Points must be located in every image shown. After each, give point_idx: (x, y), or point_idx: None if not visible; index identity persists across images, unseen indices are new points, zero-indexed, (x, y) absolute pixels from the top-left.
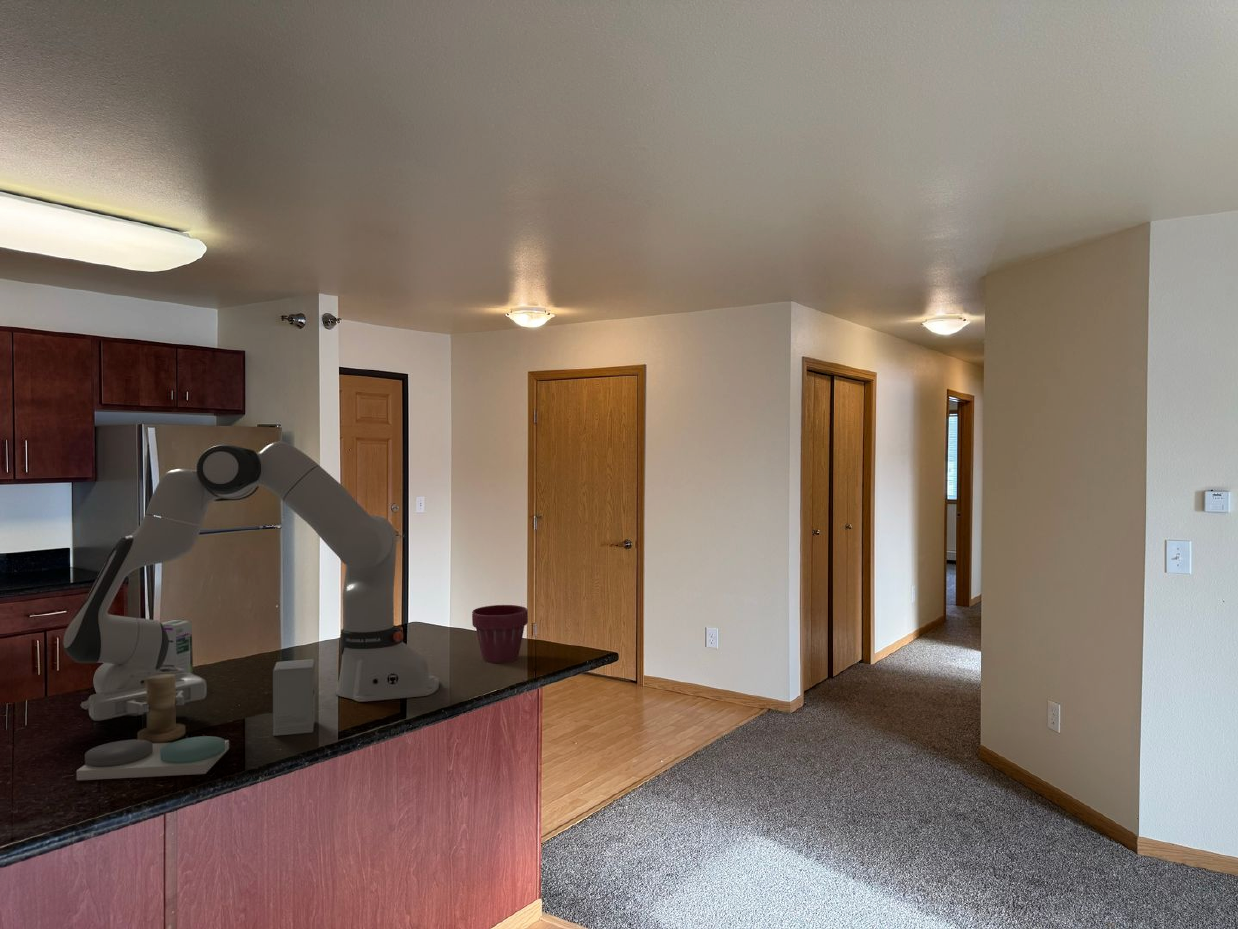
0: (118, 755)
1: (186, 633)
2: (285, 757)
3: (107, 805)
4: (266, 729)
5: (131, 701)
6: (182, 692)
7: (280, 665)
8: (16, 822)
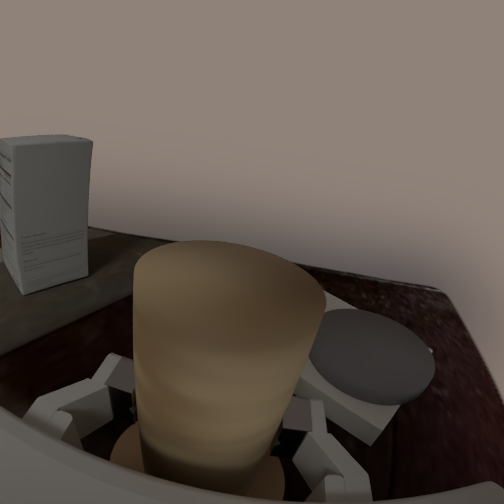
0: (378, 323)
1: None
2: (164, 242)
3: (381, 290)
4: (50, 299)
5: (349, 472)
6: (57, 390)
7: (53, 139)
8: (456, 315)
